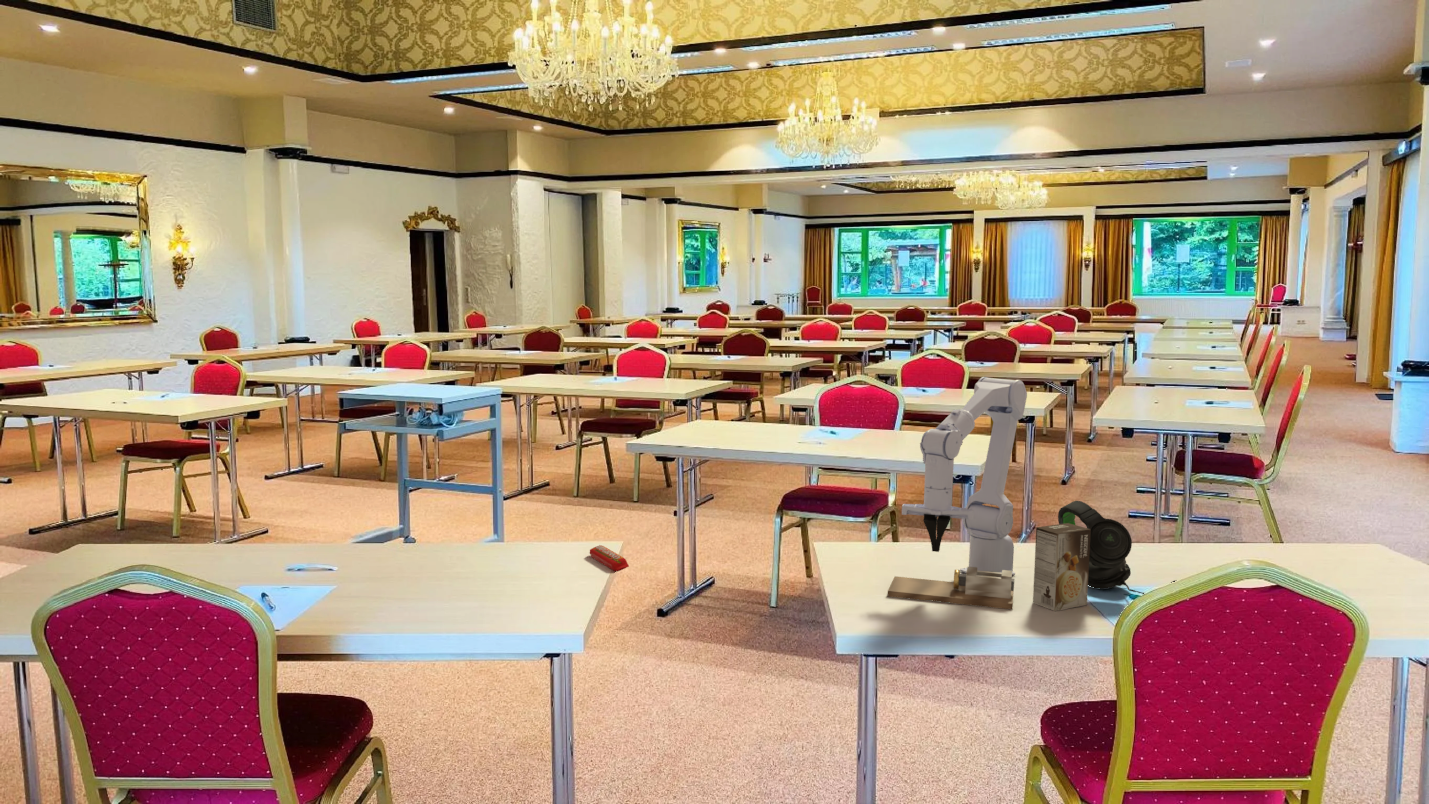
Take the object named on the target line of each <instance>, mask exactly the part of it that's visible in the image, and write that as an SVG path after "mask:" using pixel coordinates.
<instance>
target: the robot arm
mask: <svg viewBox="0 0 1429 804" xmlns="http://www.w3.org/2000/svg"><path fill="white" fill-rule="evenodd" d="M1027 398H1028V392H1027V390H1026V385H1025V384H1024V382H1023V380H1020V379H1016V380H1014V379H1006V378H1005V379H1004V378H995V377H994V378H993V377H987V376H982V377H980V378H979V379H978V381H977V382H976V383H975V384H974V389H973V395H972V396H971V397H970V398H969V400H967V402H966V403H965V405H964V406H963V407H962V408H957V409H952V410H951V412H950V414H949V415H947V417H945V419H944V420H943V421H941V422H940V423H939V424H938V425H937V426H936V427H935V428H929V429H928V430H926V431H925V432H924V433H923V434H922V437H921V441H920V443H919V448H920V452H921V454H922V462H923V464H925V465H924V470H925V471H924V493H923V504H921V503H913V504H912V503H903V504H902V506H901V516H902V515H903V516H907V515H914V516H923V520H922V521H923V523H924V526H925V528H926V530H927V534H928V536H929V540H930V544H931V552H936V553H939V552H940V550H941V543H942V540H943V536H944V534H945V531H946V530H947V527H948V526H949V524H950V522H951V519H962V524H963V526H964V529H966V530H967V531H966V533H967V534H969V554H968V556H969V557H968V567H977V570H979V571H990V572H1000V573H1002V570H1009V571H1012V576H1015V575H1016V572H1014V571H1013V569H1014V552H1015V550H1014V549H1015V546H1014V543H1013V539H1012V538H1011V536H1010V535H1009V534H1011V533H1010V532H1011V531H1012V528H1013V525H1014V517H1013V516H1014V514H1013V513H1014V504H1013V503H1012V501H1010V500H1009V498H1007V496H1006V495H1005V494H1004V493H1005V488H1006V483H1007V479H1008V475H1009V474H1008V472H1009V467H1010V462H1011V456H1012V452H1013V447H1014V442H1015V437H1016V431H1017V427H1018V421H1019V420H1021V419H1023V417H1024V412H1025V408H1026V402H1027ZM984 413H985V415H987V416H989V417H990V418H991V420H992V421H993V424H992V429H991V434H990V439H989V442H988V449H987V454H986V459H985V462H984V463H985V464H984V468H983V474H982V479H981V485H980V489H978V491H976V492H974V493H973V494H971V495H970V496H969V497H968V501H967V503H966V506H965V508H964V507H960V506H959V507H958V506H953V487H954V486H953V485H954V484H953V482H954V463H955V462H954V460H955V458H957V456H958V455H959V453H960V450H961V446H962V445H963V443H964V441H965V439H966V438H967V436H968V435H969V434H971V433H972V431H973V430H974V429H975V427H976V425H975V423H976V422H975V421H976V420H977V419H978V418H979V417H981V415H983V414H984ZM991 505H993V506H991ZM994 506H996V507H994ZM959 570H960V572H963V574H966V572H967V567H964V568H960V569H959Z"/></svg>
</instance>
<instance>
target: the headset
mask: <svg viewBox="0 0 1429 804" xmlns="http://www.w3.org/2000/svg"><path fill="white" fill-rule="evenodd" d="M1076 517H1077V518H1078V519H1079V520H1080V522H1082V523H1083V524H1084V525H1085V527H1086V528H1088V529H1091V533H1090V553H1089V573H1088V585H1089V586H1091V587H1094V588H1100V589H1099V590H1106V589H1111V588H1114V587H1115V588H1116V587H1121V586H1125V587H1126V588H1127V590H1128V591H1130V592H1133V593H1138V594H1142V595H1145V594H1144V593H1145V592H1142V591H1139V590H1134V589H1131V588H1130V587H1129V586H1128V584H1127V583H1126V581H1127V580H1128V579H1129V578H1130V576H1131V573H1132V572H1131V568H1130V566H1129V564H1128V563H1127V560H1126V558H1127V557H1128V556H1129V555H1130V552H1131V550H1132V546H1133V541H1132V540H1133V539H1132V537H1131V536H1132V535H1131V534H1130V532H1129V530H1128V529H1127V528H1126V526H1124V524H1122V523H1120V522H1119V521H1117V520H1114V519H1112V518H1105V517H1104V516H1102V515H1101V513H1099V512H1098V511H1097V510H1096V509H1095V508H1093V507H1091V506H1090V505H1089V504H1087V503H1085V502H1084V501H1082V500H1073V501H1072V502H1070V503H1067V504H1066V505H1064V506H1062V507H1061V508H1060V509H1059V510H1058V514H1057V520H1058V524H1065V523H1069V524H1073V525H1077V524H1076V521H1075V519H1076ZM1175 581H1177V579H1176V580H1173V581H1171V582H1170V583H1172V582H1175ZM1089 586H1088V587H1089ZM1091 587H1090V588H1091ZM1094 588H1093V589H1094Z"/></svg>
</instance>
